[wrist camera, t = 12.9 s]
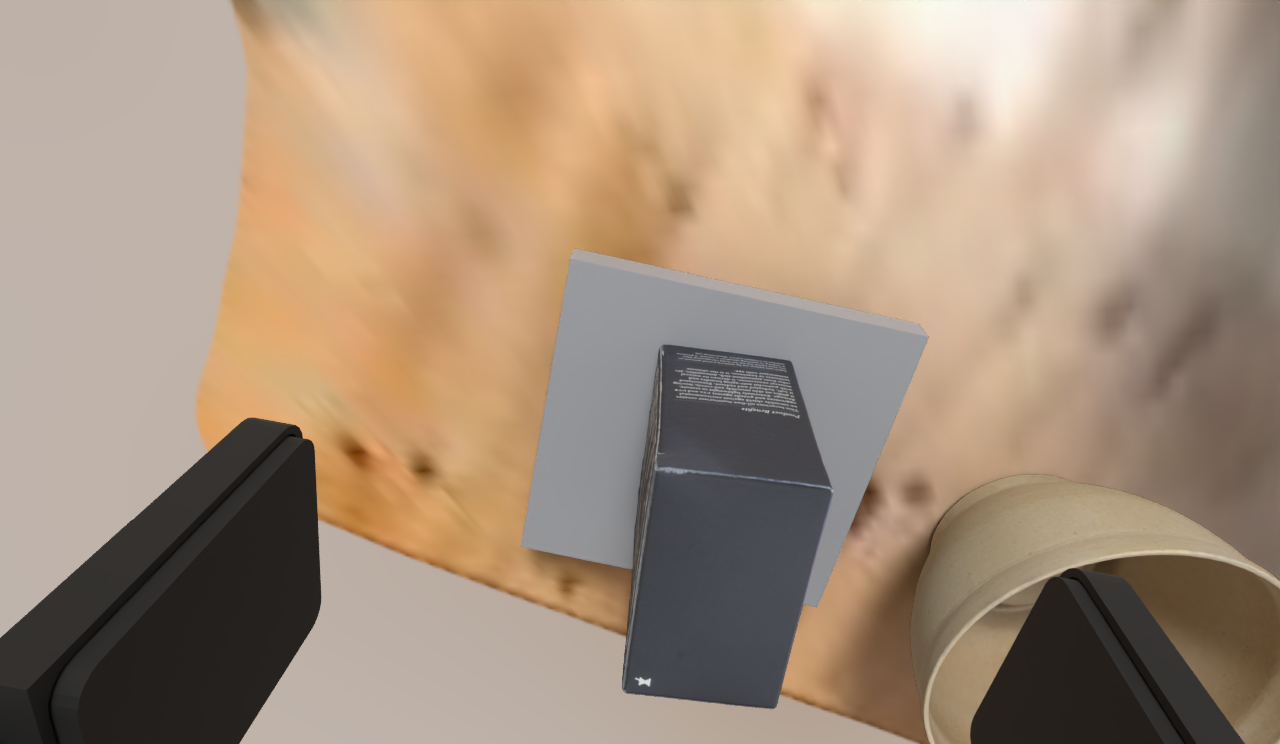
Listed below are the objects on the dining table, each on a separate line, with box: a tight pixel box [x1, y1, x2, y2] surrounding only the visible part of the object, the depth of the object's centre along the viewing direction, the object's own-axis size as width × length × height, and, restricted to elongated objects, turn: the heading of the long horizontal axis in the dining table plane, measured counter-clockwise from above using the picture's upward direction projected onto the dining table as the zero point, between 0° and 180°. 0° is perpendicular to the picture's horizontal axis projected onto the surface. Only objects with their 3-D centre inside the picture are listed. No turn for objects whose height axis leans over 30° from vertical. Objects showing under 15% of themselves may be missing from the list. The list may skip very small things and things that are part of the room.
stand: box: [521, 249, 929, 607], centre depth 38 cm, size 16×16×4 cm
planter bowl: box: [910, 474, 1280, 744], centre depth 37 cm, size 16×16×11 cm
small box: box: [622, 345, 834, 709], centre depth 31 cm, size 11×6×10 cm, turn 174°
